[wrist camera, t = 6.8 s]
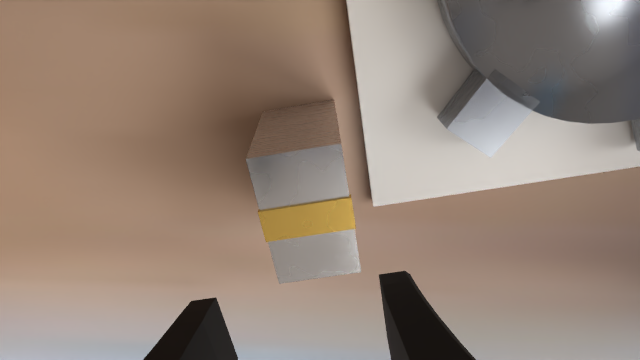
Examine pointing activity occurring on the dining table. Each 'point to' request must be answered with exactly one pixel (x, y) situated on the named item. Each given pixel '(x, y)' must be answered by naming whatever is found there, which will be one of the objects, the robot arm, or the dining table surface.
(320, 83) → the dining table surface
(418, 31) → the base plate
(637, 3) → the sprocket
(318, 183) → the yellow banded block
